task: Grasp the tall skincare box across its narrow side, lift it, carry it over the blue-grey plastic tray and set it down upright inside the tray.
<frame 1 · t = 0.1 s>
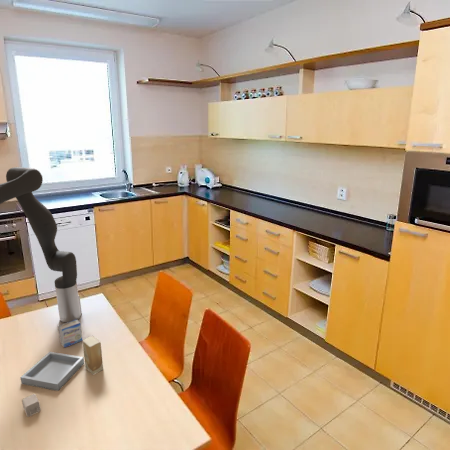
usb wall charger: (33, 413, 113), on the table
skincare box: (94, 369, 133), on the table
medicine box: (71, 342, 149), on the table
tray: (54, 373, 131), on the table
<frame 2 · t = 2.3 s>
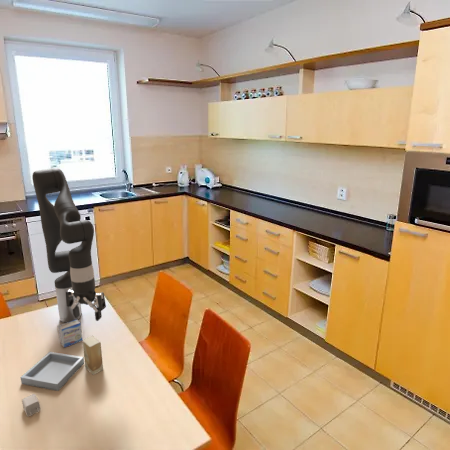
hand: (87, 318, 127), 22 cm above the table, fingers open, 8 cm apart
nothing on the table moved.
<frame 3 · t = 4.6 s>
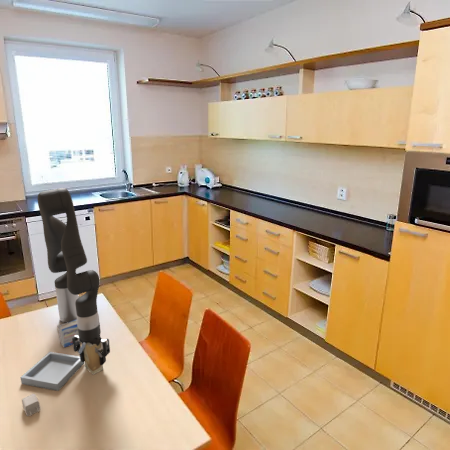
hand: (93, 362, 132), 3 cm above the table, fingers closed on skincare box, 7 cm apart
skincare box: (94, 369, 133), on the table, touching gripper
everything else where it was.
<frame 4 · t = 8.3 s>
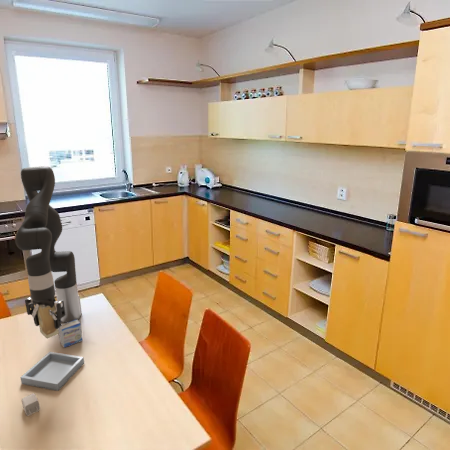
hand: (48, 326, 125), 20 cm above the table, fingers closed on skincare box, 7 cm apart
skincare box: (49, 333, 126), point 17 cm above the table, touching gripper
everything else where it was.
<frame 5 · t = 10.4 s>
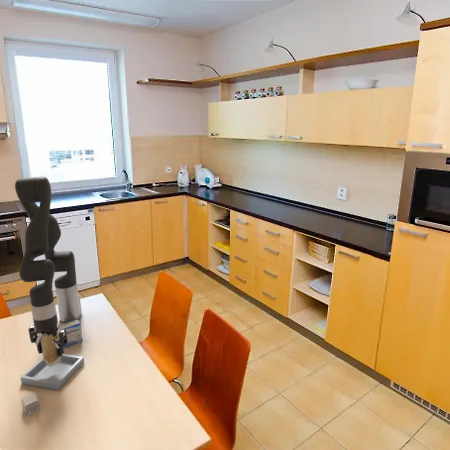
hand: (50, 353, 128), 8 cm above the table, fingers closed on skincare box, 7 cm apart
skincare box: (52, 361, 129), point 5 cm above the table, touching gripper
everything else where it was.
when the fingers open (5 cm above the table, at t = 12.3 s): skincare box drops 1 cm, resting on tray.
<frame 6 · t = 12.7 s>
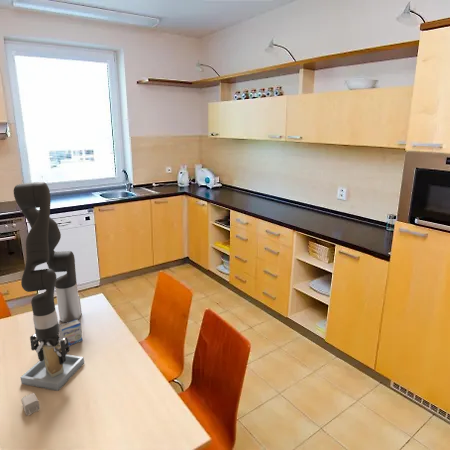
hand: (52, 361, 129), 5 cm above the table, fingers open, 8 cm apart
skincare box: (55, 371, 131), resting on tray
everything else where it was.
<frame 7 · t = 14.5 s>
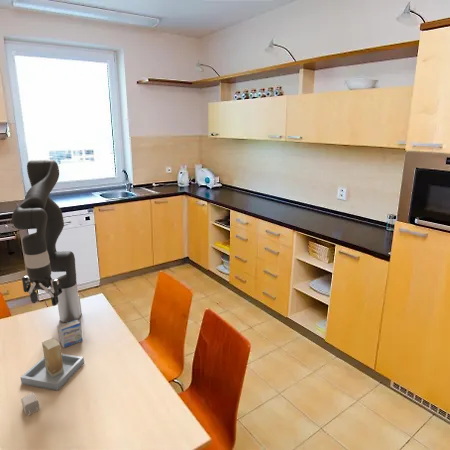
hand: (45, 303, 130), 25 cm above the table, fingers open, 8 cm apart
nothing on the table moved.
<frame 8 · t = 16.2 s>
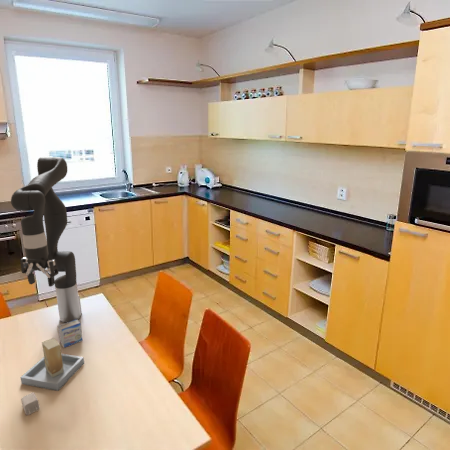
hand: (41, 284, 134), 30 cm above the table, fingers open, 8 cm apart
nothing on the table moved.
at the end: skincare box inside the target area on the tray (0.4 cm from its centre), point 0.4 cm above the tray's base; skincare box tilted 0°; the gripper is holding nothing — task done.
